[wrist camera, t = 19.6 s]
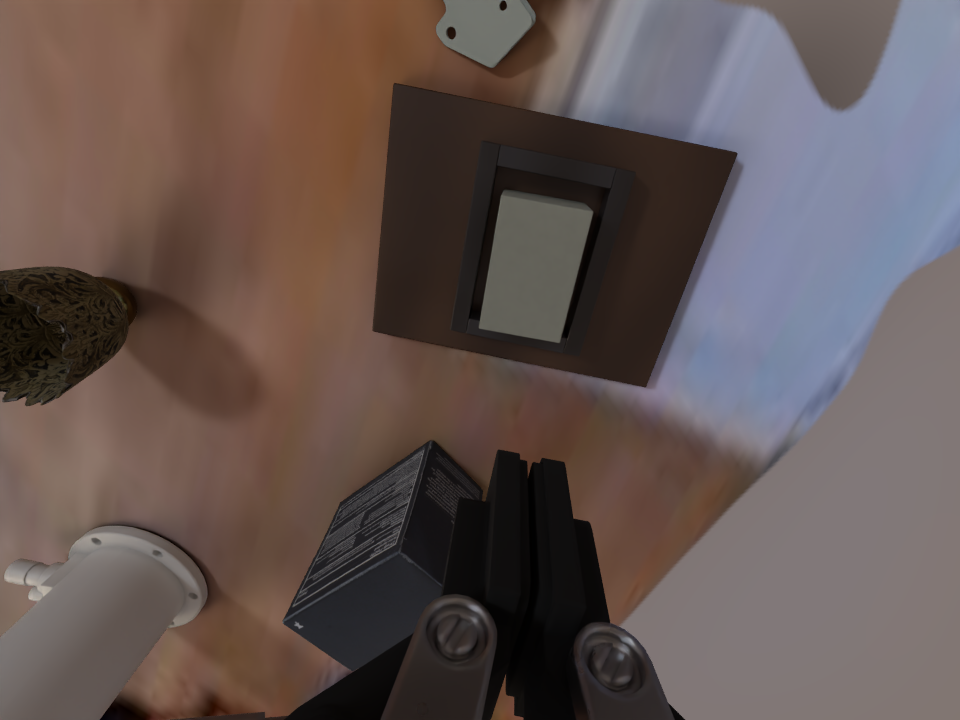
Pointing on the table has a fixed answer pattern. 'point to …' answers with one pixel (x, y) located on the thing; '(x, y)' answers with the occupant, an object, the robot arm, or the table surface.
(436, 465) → the small box
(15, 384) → the cup
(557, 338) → the gray rectangular block
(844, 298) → the table surface
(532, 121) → the mounting board
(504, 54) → the metal bracket
